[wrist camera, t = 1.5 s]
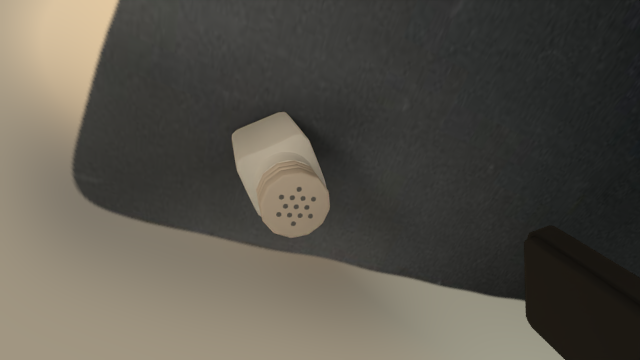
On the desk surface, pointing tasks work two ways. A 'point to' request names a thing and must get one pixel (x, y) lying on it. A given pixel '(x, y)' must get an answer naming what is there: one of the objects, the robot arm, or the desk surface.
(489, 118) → the desk surface
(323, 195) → the pepper shaker
